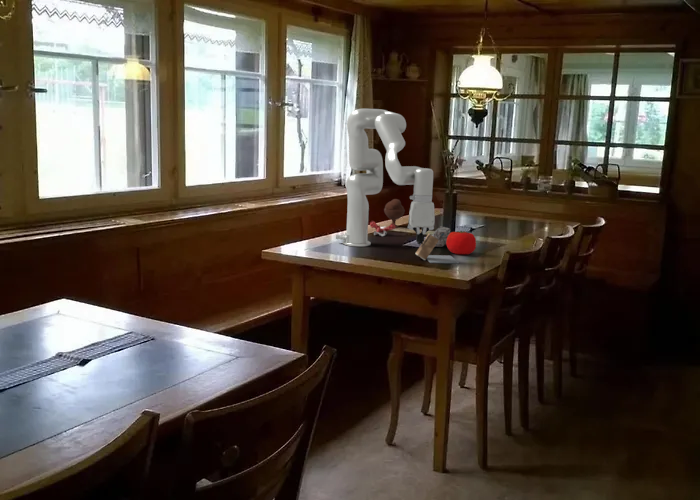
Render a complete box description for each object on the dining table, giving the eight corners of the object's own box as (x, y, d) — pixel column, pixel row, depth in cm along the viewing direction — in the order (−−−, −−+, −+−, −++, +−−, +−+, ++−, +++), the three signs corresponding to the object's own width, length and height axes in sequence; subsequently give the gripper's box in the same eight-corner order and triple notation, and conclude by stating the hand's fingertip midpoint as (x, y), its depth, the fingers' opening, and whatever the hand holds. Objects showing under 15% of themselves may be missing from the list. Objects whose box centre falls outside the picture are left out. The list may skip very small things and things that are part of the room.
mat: (430, 263, 297) (430, 262, 297) (422, 255, 311) (422, 255, 311) (459, 263, 299) (459, 262, 299) (450, 256, 312) (450, 255, 312)
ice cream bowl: (407, 227, 384) (409, 198, 381) (397, 230, 375) (398, 200, 372) (389, 225, 389) (391, 196, 386) (379, 227, 380) (380, 198, 377)
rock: (437, 248, 326) (441, 226, 326) (421, 245, 331) (425, 223, 330) (453, 250, 340) (456, 228, 339) (437, 247, 344) (440, 226, 343)
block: (417, 255, 301) (431, 235, 300) (415, 253, 305) (428, 233, 304) (425, 260, 302) (438, 240, 301) (423, 258, 306) (436, 238, 305)
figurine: (360, 234, 356) (361, 221, 355) (372, 231, 366) (373, 218, 365) (388, 238, 348) (388, 224, 347) (399, 235, 358) (400, 222, 357)
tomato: (475, 257, 313) (476, 233, 311) (445, 255, 315) (446, 231, 313) (475, 252, 323) (477, 229, 321) (446, 250, 325) (447, 227, 323)
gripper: (406, 199, 294) (403, 244, 298) (442, 200, 296) (439, 245, 299) (402, 197, 301) (400, 241, 305) (438, 198, 303) (435, 242, 307)
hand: (419, 243), depth 302 cm, fingers closed
